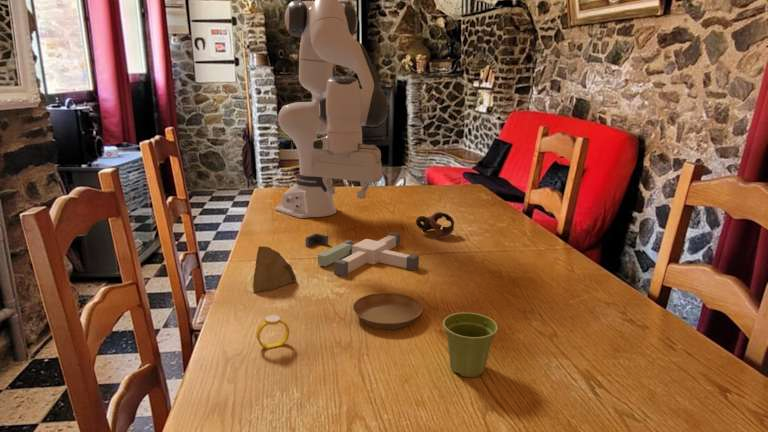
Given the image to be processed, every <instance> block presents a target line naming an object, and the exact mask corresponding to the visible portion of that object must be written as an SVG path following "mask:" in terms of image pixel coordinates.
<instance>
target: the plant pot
mask: <svg viewBox="0 0 768 432" xmlns="http://www.w3.org/2000/svg"><path fill="white" fill-rule="evenodd" d="M442 327H443V328H444V332H445V335H446V338H447V339H446V340H447V346H448V348H447V349H448V356H449V358H448V359H449V367H450V370H451V372H453V373H456V374H459V375H460V376H462V377H467V378H476V377H479V376H480V375H481V374H482V373H484V372H485V370H486V366H487V362H488V357H489V353H490V348H491V344H492V341H493V339H494V337H495V335H496V334H497V332H498V331H499V330H498V327H499V326H498V323H496V321H495V320H494V319H492V318H490V317H489V316H488V315H487V316H486V315H484V314H481V313H477V312H456V313H451V314H449V315H447V316H445V318H444V319H443V321H442Z"/></svg>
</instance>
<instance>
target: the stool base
mask: <svg viewBox="0 0 768 432" xmlns="http://www.w3.org/2000/svg"><path fill="white" fill-rule="evenodd" d="M401 236H402V235H401V233H400V232H394V231H391V232H389V233H388V234H387V236H385V237H383V238H381V239H379V240H374V239H368V238H365V239H362V240H360V241H359V242H357V243H353V245H352V249H351V254H349V255H347V256H345V257H343V258H341V259H338V260H336V261H334V262H333V274H334V275H337V276H342V277H346V276H347V275H348V274H349V273H351V272H353V271H354V270H356V269H358V268H359V267H362V266H363V265H365V264H368V265H369V264H370V265H375V264H376V263H381V264H385V265H390V266H394V267H398V268H402V269H405V270H409V271H413V272H414V271H415V270H417V269H419V267H420V265H419V264H420V261H419V260H420V255H419V254H415V253H411V254H406V253H401V252H398V251H393V250H392V249H394V248H395V247H398V246H401Z"/></svg>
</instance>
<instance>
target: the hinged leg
mask: <svg viewBox="0 0 768 432" xmlns="http://www.w3.org/2000/svg"><path fill="white" fill-rule="evenodd" d="M352 245H354V240H351V239H346V240H344V242H342V243H340V244H338V245H335V246H333V247H331V248H330V249H326V250H325V251H323V252H320V253H319V254H317V264H318V266H322V267H327V266H329V265H331V264H334V261H336V260H338V259H340V260H342V259H344V258H346V257H348V256H350V255H351V249H352Z"/></svg>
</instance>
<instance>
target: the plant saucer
mask: <svg viewBox="0 0 768 432" xmlns="http://www.w3.org/2000/svg"><path fill="white" fill-rule="evenodd" d="M352 311H353V312H354V314H355V315H356V316H357V317H358V318H359V319H360V320H361V321H362V322H364V323H365V324H366V325H367V326H370V327H373V328H376V329H381V330H397V329H400V328H401V329H402V328H404V327H406V326H409V325H410V324H411V323H413V322H414V321H415V320H417V318H418V317H419V316H420V315H421V314H422V312H423V305H422V304H421V302H420V301H419V300H417V299H416V298H414V297H412V296H410V295H407V294H402V293H399V292H398V293H396V292H377V293H376V292H375V293H369V294H366V295H363V296H361V297H359V298H358V299H357V300H355V301H354V303H353V305H352Z"/></svg>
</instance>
